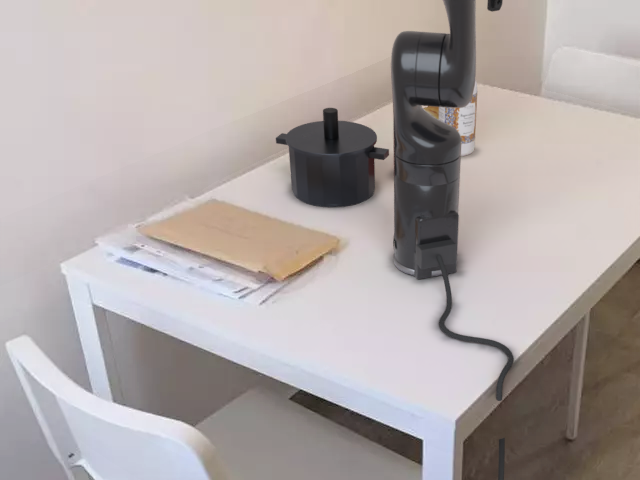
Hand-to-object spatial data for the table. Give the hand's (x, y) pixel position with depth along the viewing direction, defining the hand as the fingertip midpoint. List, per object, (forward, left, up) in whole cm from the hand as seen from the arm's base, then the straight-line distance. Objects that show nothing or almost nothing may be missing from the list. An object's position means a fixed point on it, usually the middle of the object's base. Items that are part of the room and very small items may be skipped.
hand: (476, 4), depth 138 cm
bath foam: (+14, -4, -30) cm, 34 cm away
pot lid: (+5, +23, -21) cm, 32 cm away
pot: (+5, +23, -30) cm, 38 cm away
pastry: (+28, -6, -30) cm, 42 cm away
